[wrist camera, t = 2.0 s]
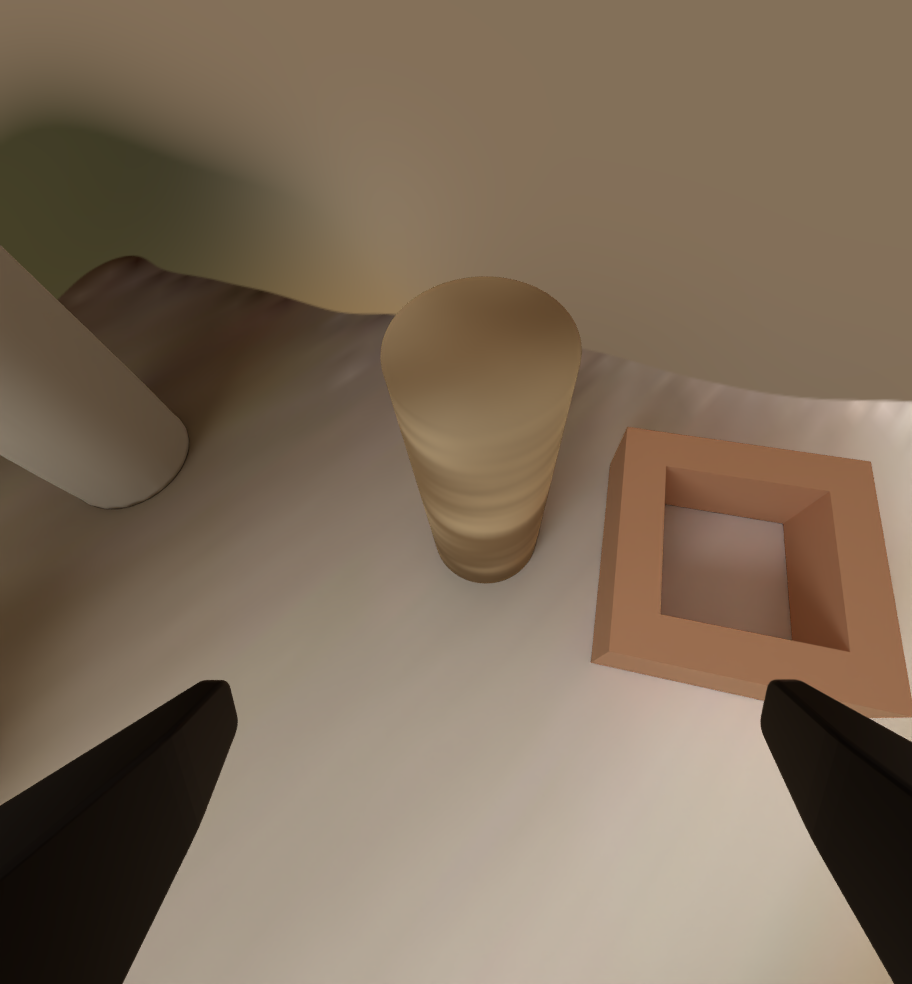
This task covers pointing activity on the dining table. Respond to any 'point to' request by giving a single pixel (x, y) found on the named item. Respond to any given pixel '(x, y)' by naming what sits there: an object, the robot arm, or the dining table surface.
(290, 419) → the dining table surface
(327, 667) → the dining table surface
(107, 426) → the bottle
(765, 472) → the socket
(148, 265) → the dining table surface
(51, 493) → the dining table surface
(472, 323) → the peg
